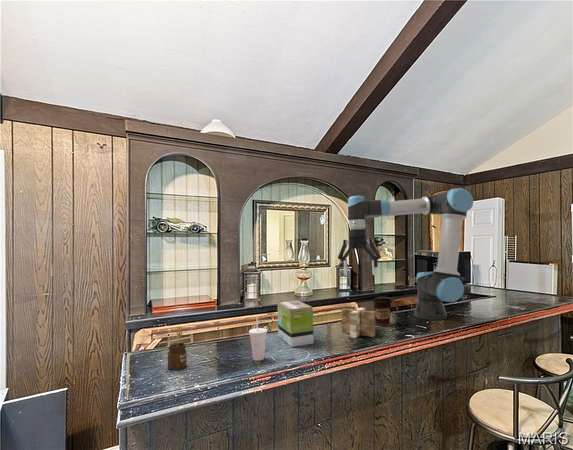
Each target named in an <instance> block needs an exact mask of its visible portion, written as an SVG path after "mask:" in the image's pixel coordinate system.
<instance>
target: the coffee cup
mask: <svg viewBox="0 0 573 450" xmlns="http://www.w3.org/2000/svg"><path fill="white" fill-rule="evenodd" d="M391 306H392V299H391V298H390V297H389V296H376V297H374V299H373V307H374V311H375V326H378V327H390V326H391V322H390V320H391V315H392V314H391V312H392V311H391V310H392V309H391Z"/></svg>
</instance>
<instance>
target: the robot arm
mask: <svg viewBox="0 0 573 450" xmlns="http://www.w3.org/2000/svg"><path fill="white" fill-rule="evenodd" d="M473 206H474V199H473V195H472V194H471V193H470V191H468V189H465V188H462V187H459V188H451V189H448V190H446V191H445V190H444V191H441V192H438V193H435V194H432V195H426V196H422V197H421V198H415V199H414V198H413V199H401V200H387V199H371V200H367V199H365V197H364V196H362V195H354V196H353V195H352V196H350V197H348V199H347V209H348V210H347V211H348V226H349V227H348V228H349V229H350V230H349V233H348V234H349V239H343V243H342V246H341V249H340V251H339V254H338V256H337V259H338V260H340V261H341V267H342V268H343V275H348V274H349V273H348V260H347V258H348V257H349V256H350V255H351V252H352V251H353V250H359V249H360V250H362V249H363V250H364V251H365V252H366V253H367V254H368V255H369V257H370V258H371V259H372V260H371V266H372V267H371V268H372V270H371V271H372V275H373V276H375V275H376V274H377V271H376V268H378V261H379V260H380V259H382V255H381V254H380V252H379V250H378V248H377V246H376V245H375V243H374V239H373V238H369V239H367V230H366V229H365V228H366V219H370V218H371V219H373V218H381V217H390V216H391V217H392V216H402V215H403V216H405V215H413V214H414V215H415V214H422V215H425V216H426V215H427V216H428V215H439V217H440V218H441V221H442V222H441V230H440V231H441V232H440V239H439V240H440V241H439V246H438V247H439V249H438V256H437V265H436V268H435V269H434V270H433V271H423V272H421V271H420V272H417V274H416V279H415V280H416V290H417V291H416V293H417V302H416V305H415V308H414V317H415V318H418V319H423V320H430V321H440V320H446V319H447V312H446V308H445V305H444V303H443V302H446V303H447V302H448V303H453V302H457V301H458V300H459V299H461V298H462V297H463V295H464V292H465V286H464V283H463V282H462V280H461V274H460V273H459V272H458V264H459V254H460V245H461V236H462V227H463V222H464V220H465V219H466V218H467V216H468V215H467V214H468V212H469V211H470V210H471V209H472V208H473ZM367 243H368V244H369V245H370V247H371V249H370V248H369V246H367ZM348 245H350V246H349V247H348V249H347V246H348ZM346 249H347V250H346ZM372 251H373V252H374V253H373V252H372Z"/></svg>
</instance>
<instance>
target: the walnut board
mask: <svg viewBox="0 0 573 450" xmlns="http://www.w3.org/2000/svg"><path fill="white" fill-rule="evenodd" d="M354 310H356V309H354V308H342V309H341V331H342V333H343V334H345V333H346V334H350V318H349V313H350V312H352V311H354ZM359 324H360V336H363V337H365V336H366V337H371V338H372V337H373V338H374V337H375V336H376V318H375V310H367V309H366V310H362V311H361V322H360V323H359Z"/></svg>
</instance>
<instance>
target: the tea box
mask: <svg viewBox="0 0 573 450" xmlns="http://www.w3.org/2000/svg"><path fill="white" fill-rule="evenodd" d="M313 312H314V309H313V306H311V305H310V304H306V303H304V302H303V301H299V300H292V301H290V300H289V301H283V302H282V301H281V302H277V333H278V337H279V338H280V339H281V340H283V341H284V342H285V343H286V344H287V345H289V346H290V347H291V348H293V347H301V346H307V345H312V344H314V342H315V341H314V340H315V339H314V336H315V335H314V313H313Z"/></svg>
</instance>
